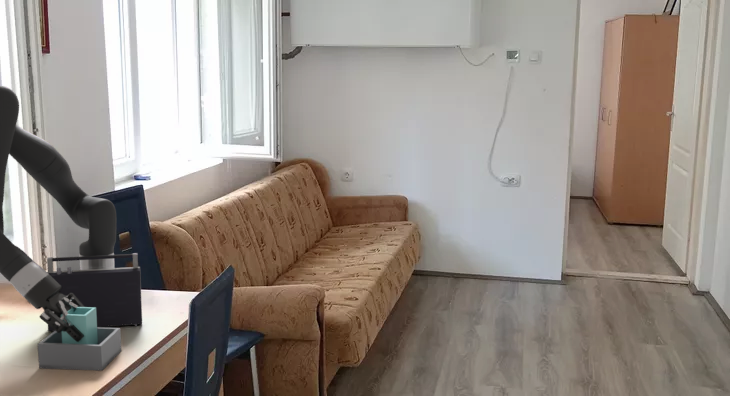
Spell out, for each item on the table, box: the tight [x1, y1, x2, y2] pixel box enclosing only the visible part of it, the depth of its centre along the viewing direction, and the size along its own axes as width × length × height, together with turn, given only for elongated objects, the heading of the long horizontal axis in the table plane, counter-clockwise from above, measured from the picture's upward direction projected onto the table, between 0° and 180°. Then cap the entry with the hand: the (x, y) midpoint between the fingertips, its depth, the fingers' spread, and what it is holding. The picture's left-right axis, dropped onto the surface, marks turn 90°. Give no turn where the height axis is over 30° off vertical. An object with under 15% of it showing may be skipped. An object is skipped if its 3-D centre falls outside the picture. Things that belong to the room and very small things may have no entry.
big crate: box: [37, 327, 122, 371], centre depth 177 cm, size 15×12×6 cm
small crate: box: [61, 307, 98, 345], centre depth 176 cm, size 6×6×10 cm
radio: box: [46, 252, 143, 332], centre depth 198 cm, size 24×5×20 cm, turn 106°
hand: (86, 333), depth 176 cm, fingers closed on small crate, 6 cm apart
